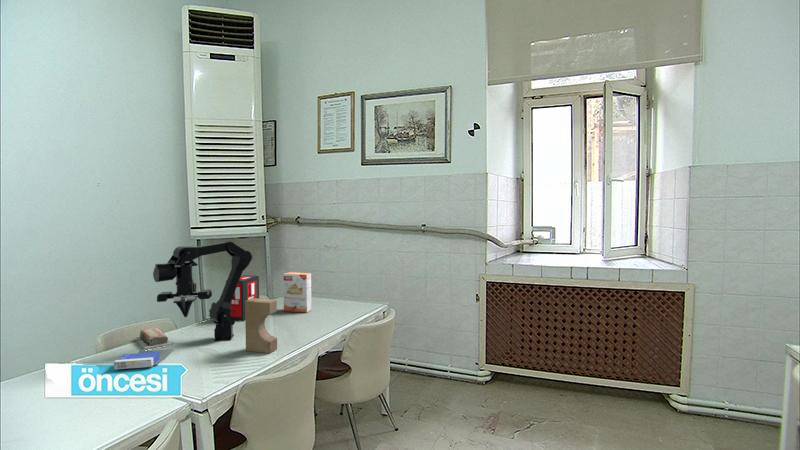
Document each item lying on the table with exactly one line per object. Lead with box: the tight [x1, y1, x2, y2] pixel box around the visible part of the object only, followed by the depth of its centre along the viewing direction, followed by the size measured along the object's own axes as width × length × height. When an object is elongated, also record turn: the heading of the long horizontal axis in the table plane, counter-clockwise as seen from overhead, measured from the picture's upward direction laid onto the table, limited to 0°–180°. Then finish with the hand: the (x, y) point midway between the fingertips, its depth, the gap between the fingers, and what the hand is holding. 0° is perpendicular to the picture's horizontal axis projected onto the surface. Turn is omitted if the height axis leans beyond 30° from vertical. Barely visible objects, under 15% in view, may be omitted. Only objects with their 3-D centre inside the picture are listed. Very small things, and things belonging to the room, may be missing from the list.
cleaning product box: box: [225, 274, 260, 322], centre depth 208 cm, size 16×9×20 cm, turn 172°
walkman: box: [113, 352, 159, 370], centre depth 142 cm, size 8×3×12 cm
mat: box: [137, 348, 175, 367], centre depth 149 cm, size 12×16×1 cm
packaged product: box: [135, 327, 173, 351], centre depth 167 cm, size 18×5×10 cm
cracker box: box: [283, 271, 312, 313], centre depth 219 cm, size 14×6×21 cm, turn 76°
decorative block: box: [244, 297, 278, 354], centre depth 158 cm, size 11×6×20 cm, turn 73°
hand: (185, 316), depth 160 cm, fingers closed
